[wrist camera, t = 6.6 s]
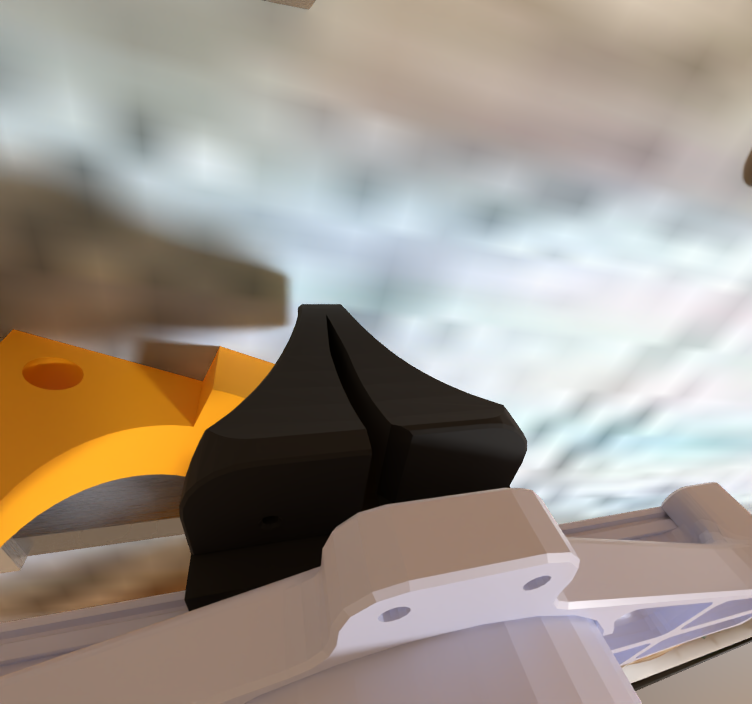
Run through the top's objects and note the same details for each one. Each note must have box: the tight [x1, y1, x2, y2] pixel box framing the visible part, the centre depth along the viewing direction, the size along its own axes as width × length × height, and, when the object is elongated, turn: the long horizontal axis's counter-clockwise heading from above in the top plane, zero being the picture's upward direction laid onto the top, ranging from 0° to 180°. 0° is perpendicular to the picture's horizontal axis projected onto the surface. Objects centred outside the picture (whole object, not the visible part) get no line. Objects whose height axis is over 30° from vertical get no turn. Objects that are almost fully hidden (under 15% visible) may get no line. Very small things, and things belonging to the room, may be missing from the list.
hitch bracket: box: [0, 0, 316, 573], centre depth 10 cm, size 18×12×3 cm, turn 172°
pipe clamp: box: [0, 329, 275, 547], centre depth 12 cm, size 12×4×6 cm, turn 57°
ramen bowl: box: [621, 618, 752, 691], centre depth 39 cm, size 25×23×8 cm
